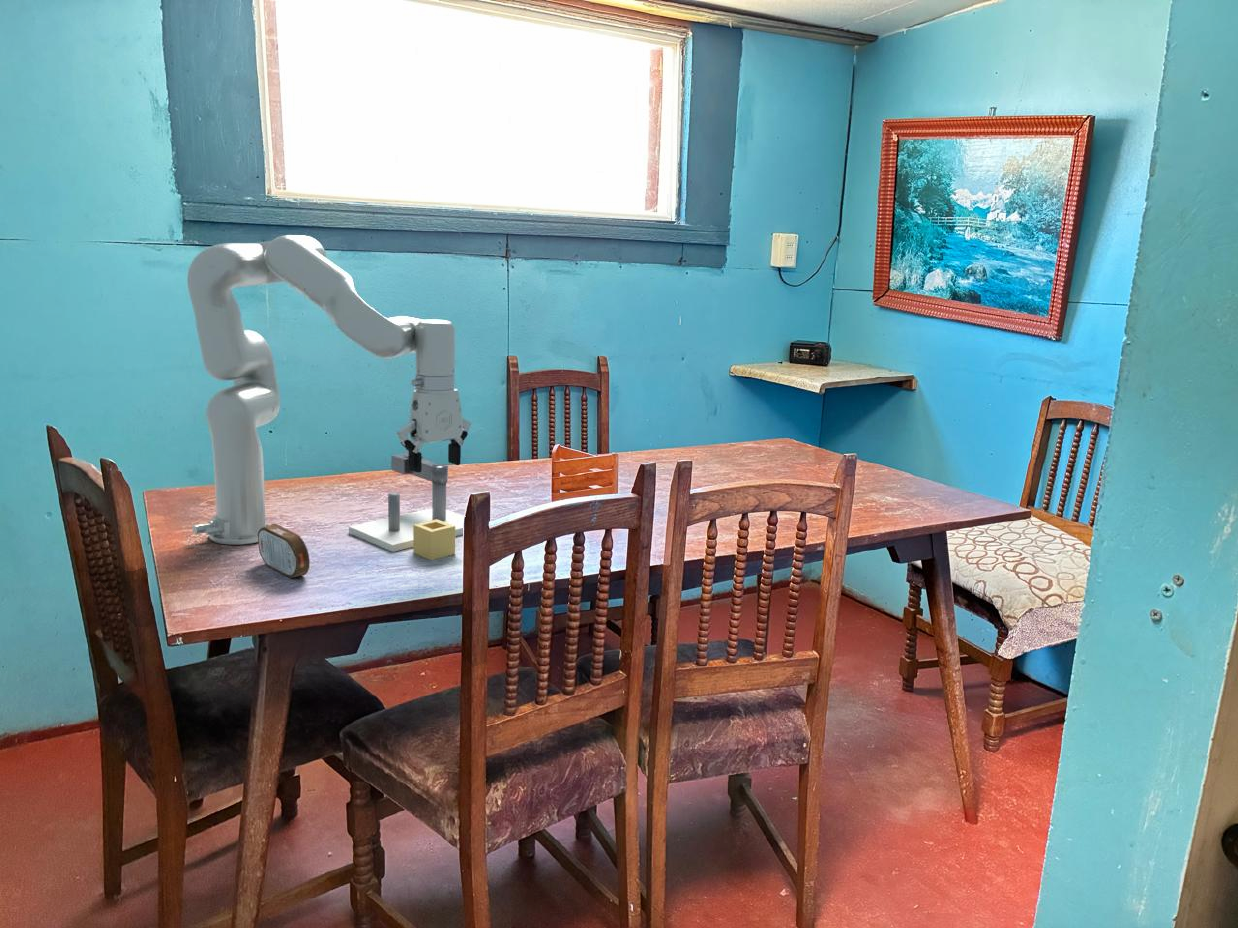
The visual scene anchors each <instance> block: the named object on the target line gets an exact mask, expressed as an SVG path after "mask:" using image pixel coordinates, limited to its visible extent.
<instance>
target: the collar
mask: <svg viewBox="0 0 1238 928" xmlns="http://www.w3.org/2000/svg"><path fill="white" fill-rule="evenodd" d="M412 548H413V549H412V550H413V554H416V555H418V556H420V557H423V558H425V559H427V560H429V561H435V560H438V559H441V558H445V557H449V556H451V555H450V554H453V555H455V554H456V536H455V526H454V525H451V524H448V523H446V522H443V521H440V520H438V519H436V520H432V521H428V522H423V523H419V524H415V525H413V547H412ZM454 553H455V554H454ZM448 555H449V556H448Z"/></svg>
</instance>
